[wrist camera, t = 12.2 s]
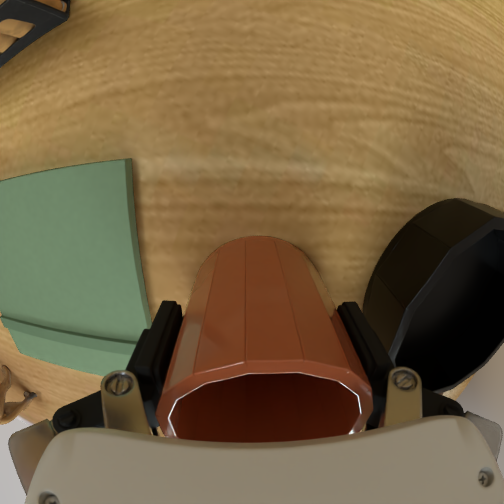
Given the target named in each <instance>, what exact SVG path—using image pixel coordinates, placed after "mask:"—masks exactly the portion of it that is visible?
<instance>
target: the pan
mask: <svg viewBox="0 0 504 504" xmlns="http://www.w3.org/2000/svg"><path fill="white" fill-rule="evenodd" d="M363 315H364V316H365V318H366V320H367V321H368V323H369V325H370V327H371V328H372V329H373V330H374V331H375V332H376V334H377V336H378V337H379V339H380V341H381V343H382V344H383V346H384V348H385V350H386V352H387V353H388V355H389V357H390V359H391V361H392V362H393V364H394V366H395V368H396V367H408V368H411V369H412V370H414V371H415V372H417V373H418V375H419V376H420V378H421V384H422V387H424V388H426V389H428V390H431V391H433V392H435V393H438V394H440V395H442V394H443V392H445V391H448V390H451V389H453V388H455V387H456V386H457V385H459V384H460V383H462V382H463V381H465V380H466V379H467V378H469V377H470V376H471V375H473V374H474V373H475V372H477V371H478V370H479V369H481V368H482V367H483V366H484V365H485V364H486V363H487V362H488V361H489V360H490V359H491V357H492V356H493V355H494V354H495V353H496V351H497V350H498V349H499V348H500V346H501V345H502V344H503V343H504V213H503V212H501V211H499V210H497V209H495V208H492V207H490V206H488V205H485V204H481V203H476V202H473V201H470V200H467V199H460V198H454V199H447V200H444V201H441V202H437V203H435V204H433V205H431V206H429V207H427V208H426V209H424V210H423V211H421V212H420V213H418V214H417V215H416V216H415V217H414V218H412V219H411V220H410V221H409V222H408V223H407V224H406V225H405V226H404V227H403V228H402V229H401V230H400V231H399V232H398V233H397V235H396V236H395V237H394V238H393V240H392V241H391V242H390V243H389V245H388V246H387V248H386V250H385V251H384V253H383V254H382V256H381V257H380V259H379V261H378V263H377V265H376V267H375V269H374V271H373V274H372V276H371V278H370V281H369V284H368V287H367V290H366V293H365V299H364V304H363Z"/></svg>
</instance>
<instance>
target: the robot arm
mask: <svg viewBox="0 0 504 504" xmlns="http://www.w3.org/2000/svg"><path fill="white" fill-rule="evenodd" d="M337 312H338V314H339V316H340V318H341V320H342V323H343V325H344V327H345V329H346V331H347V333H348V335H349V338H350V340H351V342H352V344H353V346H354V349H355V351H356V353H357V355H358V358H359V360H360V362H361V364H362V367H363V369H364V371H365V374H366V376H367V378H368V381H369V383H370V385H371V388H372V395H373V406H374V409H373V412H372V414H371V415H370V417H369V419H368V420H367V422H366V423H365V425H364V427H363V428H362V432H358V433H352V434H347V435H340V436H334V437H326V438H318V439H310V440H299V441H286V442H264V443H232V442H209V441H196V440H185V439H176V438H168V437H160V435H159V431H158V428H157V427H158V426H159V423H158V421H157V419H156V417H155V410H156V406H157V403H158V399H159V395H160V392H161V388H162V384H163V381H164V377H165V374H166V370H167V367H168V363H169V360H170V357H171V353H172V350H173V347H174V343H175V340H176V337H177V334H178V330H179V327H180V324H181V321H182V318H183V317H182V309H181V305H177V303H176V301H162V303H161V305H160V308H159V310H158V312H157V314H156V317H155V319H154V321H153V323H152V325H151V328H150V329H144V330H143V331H142V333H141V336H140V338H139V340H138V342H137V344H136V347H135V349H134V351H133V353H132V356H131V358H130V360H129V362H128V365H127V367H126V369H125V370H116V371H112V372H110V373H108V374H107V375H106V376H105V377H104V378H103V379H102V381H101V390H100V391H98V392H96V393H93V394H91V395H89V396H87V397H84V398H82V399H80V400H77V401H75V402H73V403H70V404H68V405H65V406H63V407H61V408H60V409H58V410H57V411H56V412H55V414H54V416H53V420H51V421H49V420H48V419H46V420H43V421H41V422H39V423H36V424H34V425H32V426H29V427H27V428H25V429H22V430H20V431H17V432H15V433H14V434H12V435H11V437H10V438H9V442H8V445H9V450H10V453H11V457H12V460H13V463H14V465H15V468H16V471H17V474H18V476H19V479H20V481H21V484H22V486H23V488H24V490H25V493H26V496H27V497H26V501H25V504H504V479H503V476H502V474H501V471H500V469H499V467H498V464H497V458H498V454H499V450H500V445H501V440H502V429H501V427H500V426H499V425H498V424H497V423H495V422H492V421H490V420H488V419H485V418H483V417H480V416H478V415H476V414H473V413H471V412H469V411H467V412H466V413H464V412H463V408H462V407H461V405H460V404H459V403H458V402H456V401H455V400H453V399H450V398H448V397H445V396H443V395H440V394H438V393H435V392H433V391H431V390H428V389H426V388H424V387H422V384H421V378H420V376H419V375H418V373H417V372H415V371H414V370H412V369H411V368H408V367H396V368H395V366H394V364H393V362H392V361H391V359H390V357H389V355H388V353H387V352H386V350H385V348H384V346H383V344H382V343H381V341H380V339H379V337H378V336H377V334H376V332H375V331H374V330H373V329H372V328H371V327H370V325H369V323H368V321H367V320H366V318H365V316H364V315H363V313H362V311H361V310H360V308H359V306H358V304H357V303H356V302H343V303H342V305H339V306H338V309H337Z"/></svg>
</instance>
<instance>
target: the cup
mask: <svg viewBox="0 0 504 504" xmlns="http://www.w3.org/2000/svg"><path fill="white" fill-rule="evenodd" d="M373 409H374V406H373V395H372V388H371V385H370V383H369V381H368V378H367V376H366V374H365V371H364V369H363V367H362V364H361V362H360V360H359V358H358V355H357V353H356V351H355V349H354V346H353V344H352V342H351V340H350V338H349V335H348V333H347V331H346V329H345V327H344V325H343V323H342V320H341V318H340V316H339V314H338V312H337V310H336V308H335V306H334V304H333V302H332V299H331V297H330V295H329V293H328V291H327V289H326V287H325V285H324V283H323V281H322V279H321V277H320V275H319V273H318V271H317V269H316V268H315V267H314V266H313V264H312V262H311V261H310V260H309V258H308V257H307V256H306V255H305V254H304V253H303V252H302V251H301V250H300V249H298V248H297V247H295V246H294V245H292V244H290V243H288V242H286V241H283V240H281V239H278V238H273V237H268V236H249V237H243V238H239V239H236V240H233V241H230V242H228V243H226V244H224V245H222V246H221V247H219V248H217V249H216V250H215V251H214V252H213V253H211V254H210V255H209V256H208V258H207V259H206V260H205V261H204V263H203V264H202V266H201V267H200V269H199V271H198V274H197V277H196V279H195V282H194V285H193V287H192V290H191V293H190V296H189V299H188V302H187V305H186V308H185V311H184V315H183V318H182V321H181V324H180V327H179V330H178V334H177V337H176V340H175V343H174V347H173V350H172V353H171V357H170V360H169V363H168V367H167V370H166V374H165V377H164V381H163V384H162V388H161V392H160V395H159V399H158V403H157V406H156V410H155V417H156V419H157V421H158V423H159V426H160V428H161V430H162V432H163V434H164V435H165V436H166V437H168V438H176V439H185V440H196V441H209V442H232V443H264V442H286V441H299V440H310V439H318V438H326V437H334V436H340V435H347V434H352V433H358V432H360V430H362V428H363V427H364V425H365V423H366V422H367V420H368V419H369V417H370V415H371V414H372V412H373Z"/></svg>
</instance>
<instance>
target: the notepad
mask: <svg viewBox="0 0 504 504" xmlns="http://www.w3.org/2000/svg"><path fill="white" fill-rule="evenodd" d="M0 312H1V314H2V316H1V317H0V318H1V321H2V323H3V325H4V327H6V328H8V330H9V332H10V334H11V336H12V338H13V340H14V342H15V344H16V346H17V348H18V350H19V352H20V353H22V354H24V355H27V356H30V357H33V358H36V359H39V360H43V361H46V362H49V363H53V364H56V365H60V366H63V367H67V368H71V369H75V370H78V371H83V372H87V373H91V374H96V375H100V376H106V375H107V374H108V373H110V372H112V371H116V370H125V369H126V367H127V365H128V362H129V360H130V358H131V356H132V353H133V351H134V349H135V347H136V344H137V342H138V340H139V338H140V336H141V333H142V331H143V330H144V329H150V328H151V325H152V321H151V316H150V311H149V306H148V301H147V295H146V290H145V284H144V278H143V272H142V266H141V259H140V252H139V244H138V236H137V227H136V218H135V207H134V195H133V179H132V159H131V158H129V159H119V160H110V161H102V162H94V163H87V164H80V165H74V166H67V167H62V168H56V169H51V170H45V171H40V172H35V173H31V174H26V175H22V176H17V177H13V178H9V179H5V180H1V181H0Z"/></svg>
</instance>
